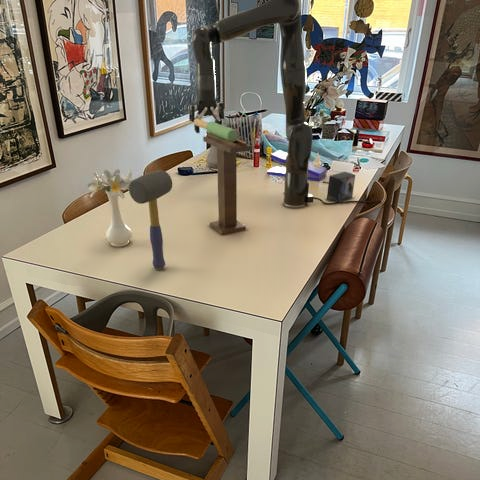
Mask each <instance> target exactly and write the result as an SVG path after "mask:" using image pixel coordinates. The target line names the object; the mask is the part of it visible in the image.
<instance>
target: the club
mask: <svg viewBox="0 0 480 480" xmlns="http://www.w3.org/2000/svg"><path fill="white" fill-rule="evenodd" d="M194 124H195V125H196V126H199V127H200V128H201V129H204V130H206V132H207V133H211V134H213V135H216V136H218V137H220V138H223V139H225V140H228V141H230V142H235V141H236V140H237V139H238V138H239V133H238V131H237V130H236V129H234V128H232V127H228V126H225V125H223V124H221V123H220V124H217V123H215V121H209V122H208V121H205V120H203V119H195V120H194V122H193V125H194Z"/></svg>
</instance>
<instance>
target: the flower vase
mask: <svg viewBox="0 0 480 480" xmlns="http://www.w3.org/2000/svg"><path fill="white" fill-rule="evenodd" d="M120 172H121V171H120V169H115V170H114V171H113V172H110V170H108V169H104V170H103V173H104V174H100V176H99V175H98V173H97V172H93V176H92V177H93V181H90V182H89V183H88V184H87V187H88V190H89V191H91V193H90V195H89V196H90V197H89V198H93V196H94V195H95V194H97V192H98V191H100V190H102V189H103V190H105V191H104V192H105V194H106V195H107V198H108V202H109V209H110V223H109V225H108V227H107V228H106V229H105V232H104V236H105V239H106V240H107V241H108V242H109V243H110V245H111V246H113V247H115V248H116V247H117V248H119V247H125V246H127V245H128V244H129V243H130V242H129V241H130V240H132V237H133V231H132V229H131V228H130V226H128V225H127V224H126V223H125V221H124V220H123V218H122V214H121V209H120V204H119V198H121V199H124V198H125V194H124V192H123V191H125V192H126V190H127V191H129V184H130V183H131V181H133V180H135V179H136V178H134V177H133V178H132V175H133V173H132V170H130V169H129V170H128V171H127V173H126V175H124V174H121V176H120Z"/></svg>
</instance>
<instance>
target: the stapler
mask: <svg viewBox="0 0 480 480" xmlns="http://www.w3.org/2000/svg"><path fill="white" fill-rule="evenodd" d="M287 155H288V151H284V150H281V149H278V150H276V151H274V152H272V153H271V154H270V157H269V158H270V159H273V163H277V164H279V165H282V166H273V167H272V168H270V169H268V170H267V171H266V174H267V175H272V176H279V177H285V169H286V156H287ZM313 163H314V162H312V161H309V166H308V179H307V181H308V180H309V181H314V182H315V181H316V182H320V181H321V180H322V179H323V178H325V177H326V174H327V172H328V171H327V170H328V168H327V167H324V166H322V165H319V166H320V167H319V168H317V167H314V165H313ZM283 166H284V167H283Z"/></svg>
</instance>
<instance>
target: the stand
mask: <svg viewBox="0 0 480 480" xmlns="http://www.w3.org/2000/svg"><path fill="white" fill-rule="evenodd" d="M202 139H203V140H202V141H203V142H204V143H207V144H209V145H210V146H211V145H213V146H216V147H217V168H216V170H217V202H218V205H217V206H218V207H217V208H218V211H217V212H218V220H215V221H210V222H209V227H210V228H212V229H213V230H214V231H216V232H217V233H219V234H220V235H222V236H224V235H230V234H234V233H238V232H242V231H243V232H244V231H246V230H247V226H246V224H244V223H242V222H240V221H238V219H237V217H238V216H237V215H238V213H237V210H238V209H237V208H238V207H237V205H238V204H237V203H238V202H237V196H238V195H237V191H238V190H237V184H238V183H237V181H238V180H237V177H238V176H237V153H242V152H248V151H252V145H251V144H248V142H246V141H245V142H244V140H243V141H241V139H238V138H237V140H236V141H235V142H230V141H228V140H225V139H223V138H220V137H218V136H216V135H213V134H211V133H208V132H207V134H206V135H205V136H203V137H202Z"/></svg>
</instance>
